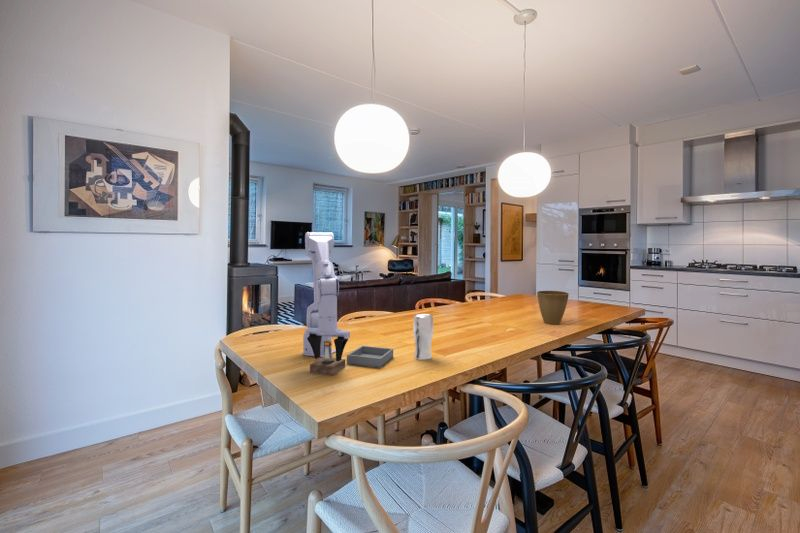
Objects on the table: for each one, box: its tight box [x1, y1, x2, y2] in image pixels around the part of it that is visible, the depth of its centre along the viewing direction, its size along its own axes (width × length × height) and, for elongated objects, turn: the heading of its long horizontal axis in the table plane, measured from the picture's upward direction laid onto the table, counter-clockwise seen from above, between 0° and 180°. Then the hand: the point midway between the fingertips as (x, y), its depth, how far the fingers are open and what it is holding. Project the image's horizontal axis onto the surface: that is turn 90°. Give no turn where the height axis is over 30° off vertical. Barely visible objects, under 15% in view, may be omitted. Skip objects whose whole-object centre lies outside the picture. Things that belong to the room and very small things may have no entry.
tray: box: [346, 345, 394, 369], centre depth 123 cm, size 12×12×3 cm
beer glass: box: [412, 313, 434, 361], centre depth 126 cm, size 7×7×15 cm
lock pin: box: [324, 340, 333, 364], centre depth 113 cm, size 2×2×9 cm
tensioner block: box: [309, 357, 346, 376], centre depth 114 cm, size 8×8×2 cm
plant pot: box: [536, 290, 570, 326], centre depth 184 cm, size 15×15×16 cm
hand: (328, 359), depth 114 cm, fingers open, 7 cm apart
